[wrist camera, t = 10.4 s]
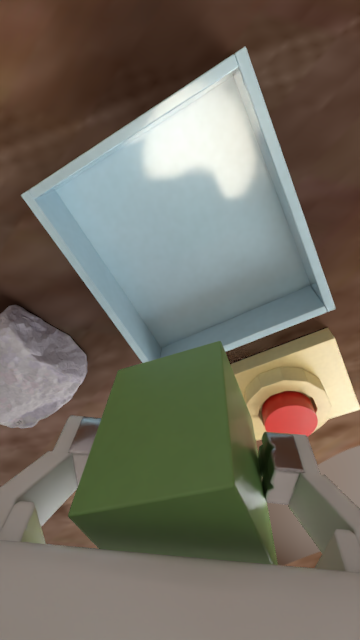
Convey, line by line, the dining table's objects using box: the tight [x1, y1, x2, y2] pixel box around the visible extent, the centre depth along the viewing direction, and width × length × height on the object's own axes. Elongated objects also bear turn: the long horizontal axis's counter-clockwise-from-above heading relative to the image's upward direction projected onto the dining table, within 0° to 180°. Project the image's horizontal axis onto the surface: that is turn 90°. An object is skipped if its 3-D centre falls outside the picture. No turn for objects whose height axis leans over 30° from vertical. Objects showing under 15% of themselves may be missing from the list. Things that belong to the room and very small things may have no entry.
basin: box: [21, 47, 336, 363], centre depth 23 cm, size 15×16×4 cm
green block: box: [68, 341, 278, 565], centre depth 11 cm, size 4×4×6 cm
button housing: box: [230, 328, 360, 441], centre depth 30 cm, size 12×9×4 cm
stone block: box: [0, 305, 87, 428], centre depth 31 cm, size 12×5×10 cm
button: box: [262, 391, 318, 437], centre depth 28 cm, size 4×4×2 cm
